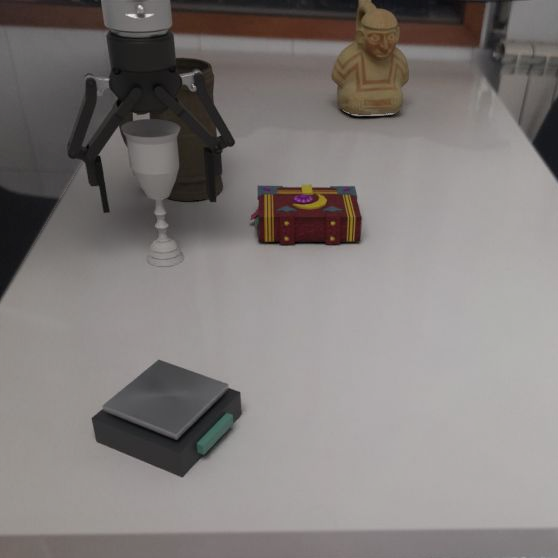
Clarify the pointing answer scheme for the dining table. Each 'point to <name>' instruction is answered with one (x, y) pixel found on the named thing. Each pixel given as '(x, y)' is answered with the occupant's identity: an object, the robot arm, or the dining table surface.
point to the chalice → (155, 176)
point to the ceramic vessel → (371, 65)
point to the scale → (165, 449)
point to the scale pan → (166, 399)
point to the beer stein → (189, 136)
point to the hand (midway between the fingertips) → (159, 203)
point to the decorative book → (308, 214)
